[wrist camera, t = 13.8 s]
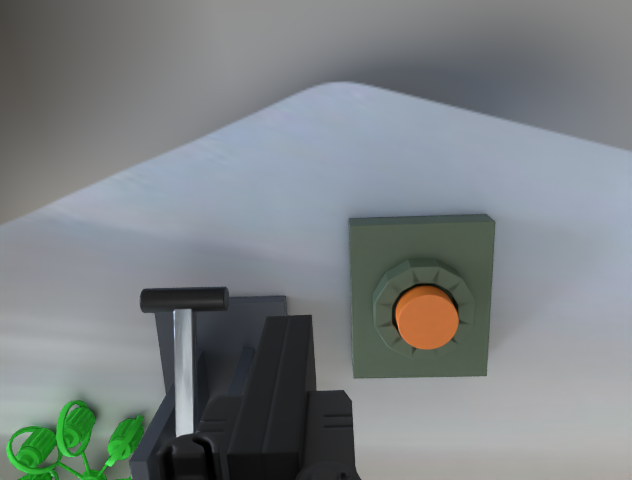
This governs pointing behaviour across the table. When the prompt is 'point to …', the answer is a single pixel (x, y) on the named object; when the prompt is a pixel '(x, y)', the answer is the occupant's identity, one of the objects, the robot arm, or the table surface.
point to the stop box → (418, 270)
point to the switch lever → (185, 341)
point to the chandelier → (72, 444)
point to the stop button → (426, 317)
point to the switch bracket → (206, 367)
